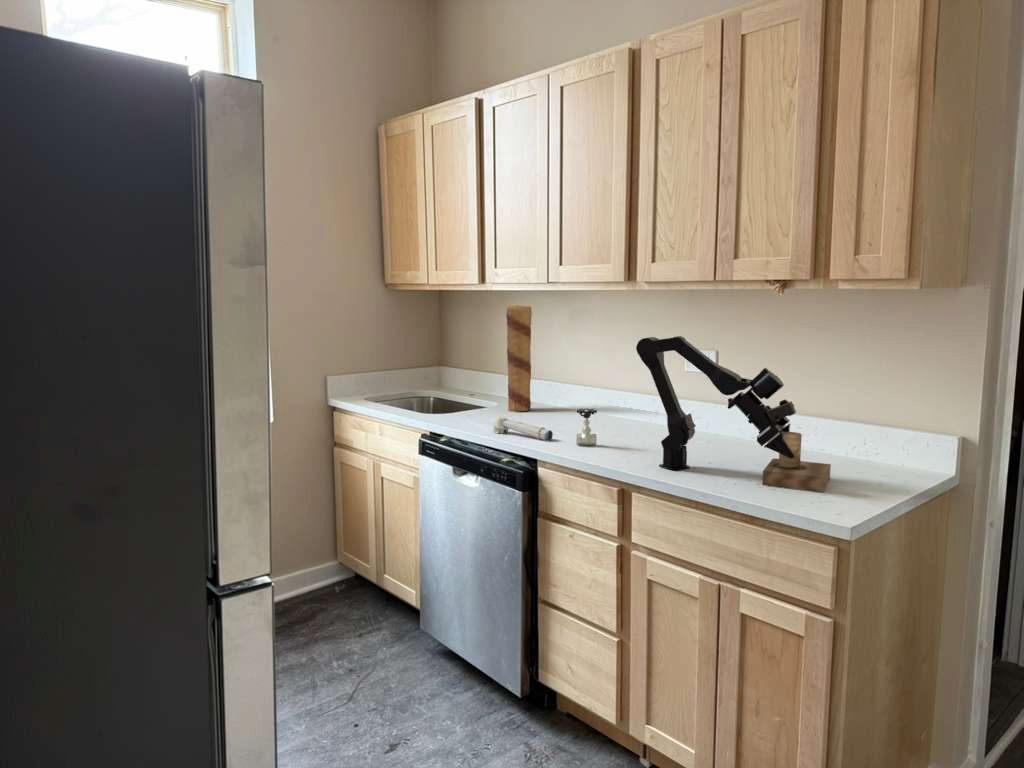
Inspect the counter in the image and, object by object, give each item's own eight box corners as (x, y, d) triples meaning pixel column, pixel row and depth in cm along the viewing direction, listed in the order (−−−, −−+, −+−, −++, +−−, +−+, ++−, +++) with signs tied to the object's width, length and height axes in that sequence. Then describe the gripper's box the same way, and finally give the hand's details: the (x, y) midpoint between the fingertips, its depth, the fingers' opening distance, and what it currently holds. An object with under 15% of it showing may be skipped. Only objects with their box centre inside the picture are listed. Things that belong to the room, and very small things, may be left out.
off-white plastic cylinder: (545, 431, 246) (491, 413, 261) (543, 449, 247) (489, 431, 263) (554, 429, 250) (500, 411, 265) (552, 447, 251) (498, 429, 266)
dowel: (791, 484, 191) (793, 436, 190) (773, 480, 196) (775, 433, 194) (803, 481, 194) (806, 434, 193) (786, 477, 199) (788, 431, 197)
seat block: (762, 485, 191) (763, 470, 190) (772, 472, 205) (773, 458, 204) (823, 492, 184) (824, 477, 183) (829, 478, 197) (830, 464, 197)
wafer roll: (510, 407, 318) (509, 305, 312) (533, 408, 315) (533, 305, 310) (503, 411, 308) (503, 305, 302) (527, 412, 305) (527, 305, 300)
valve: (576, 443, 244) (576, 408, 243) (596, 443, 243) (596, 408, 242) (576, 447, 238) (576, 411, 236) (596, 447, 237) (596, 411, 235)
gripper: (771, 395, 186) (815, 441, 182) (783, 387, 202) (823, 429, 198) (739, 422, 190) (781, 468, 187) (752, 412, 207) (791, 454, 203)
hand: (795, 454), depth 193 cm, fingers open, 9 cm apart
